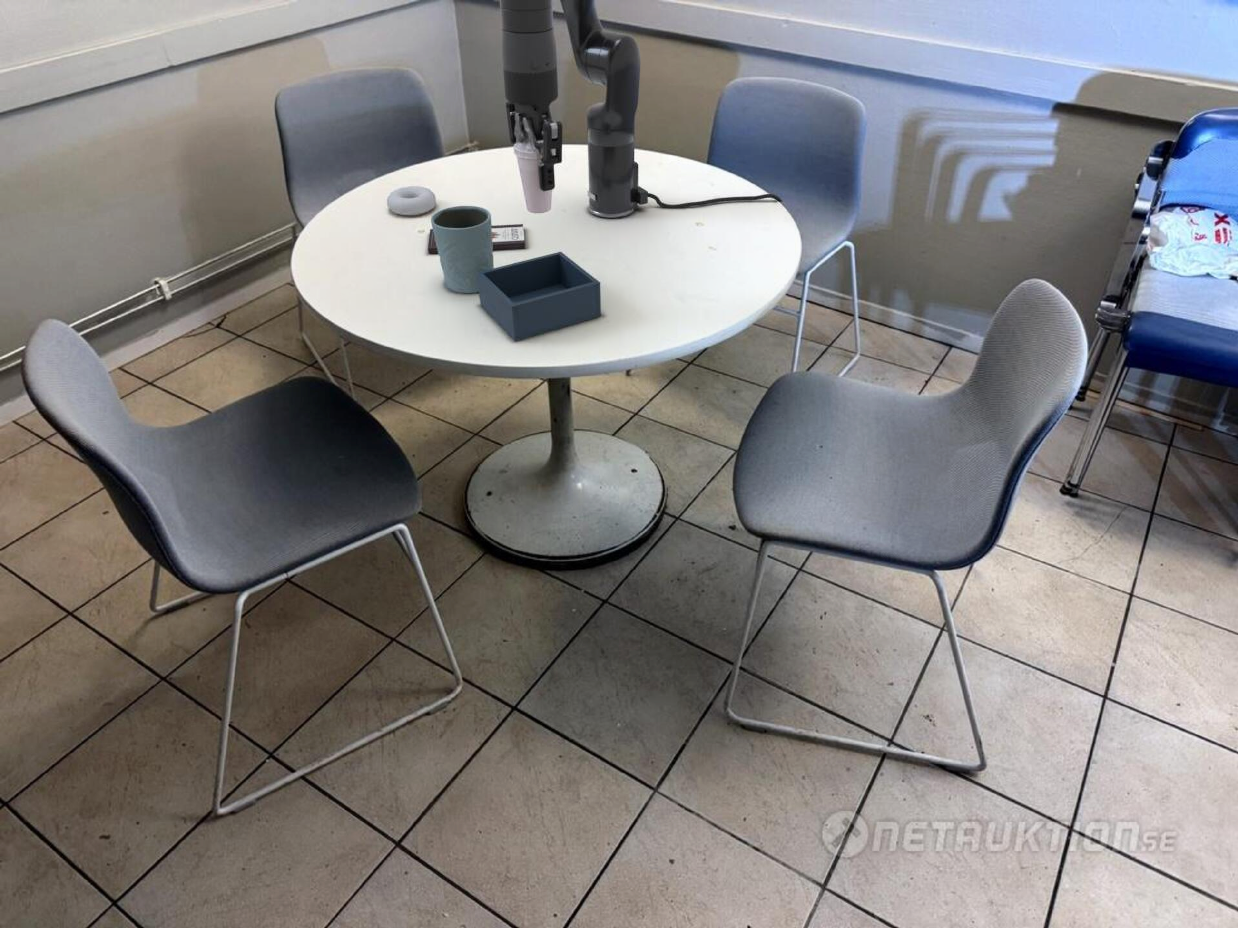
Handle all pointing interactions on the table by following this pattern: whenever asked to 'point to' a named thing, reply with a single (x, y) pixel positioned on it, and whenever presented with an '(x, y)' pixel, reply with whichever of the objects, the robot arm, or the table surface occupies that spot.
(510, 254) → the table surface
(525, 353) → the table surface
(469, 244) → the blue-green cup
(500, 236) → the chocolate bar
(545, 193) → the smoothie
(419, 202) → the donut
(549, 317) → the basin
